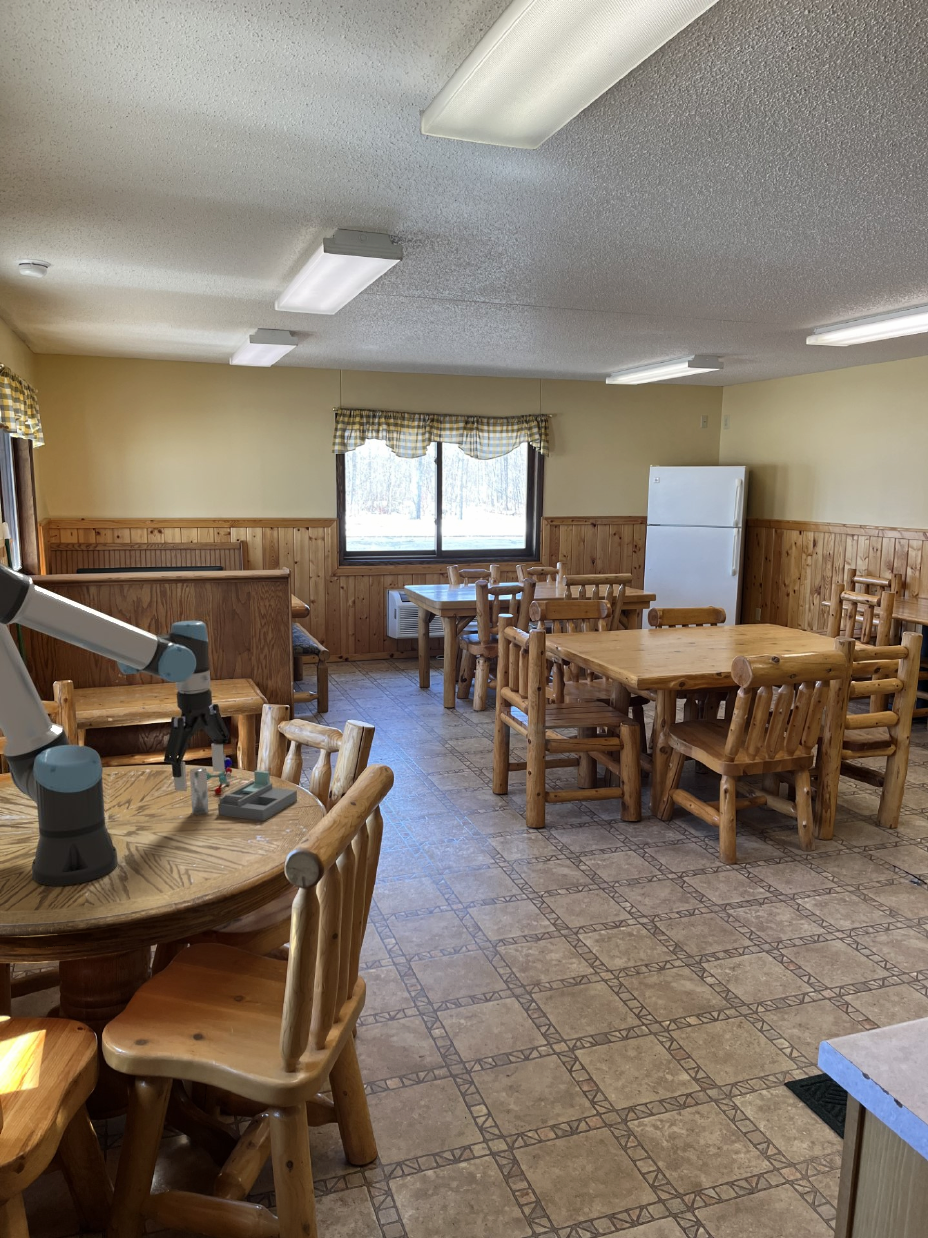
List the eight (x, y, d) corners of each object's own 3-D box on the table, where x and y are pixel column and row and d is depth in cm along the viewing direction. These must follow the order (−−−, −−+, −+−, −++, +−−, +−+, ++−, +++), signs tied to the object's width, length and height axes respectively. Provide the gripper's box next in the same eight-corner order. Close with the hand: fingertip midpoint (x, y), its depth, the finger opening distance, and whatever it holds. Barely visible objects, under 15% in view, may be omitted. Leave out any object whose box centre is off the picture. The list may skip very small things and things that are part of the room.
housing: (263, 821, 192) (262, 803, 191) (218, 814, 196) (217, 797, 196) (297, 800, 205) (296, 784, 204) (254, 795, 209) (253, 778, 209)
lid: (255, 794, 202) (254, 779, 201) (242, 792, 203) (241, 777, 202) (270, 786, 207) (269, 771, 207) (257, 784, 208) (256, 770, 208)
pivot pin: (201, 815, 196) (199, 773, 194) (188, 814, 197) (186, 771, 196) (211, 810, 199) (209, 768, 198) (198, 808, 200) (196, 767, 199)
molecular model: (180, 779, 210) (201, 742, 213) (201, 787, 219) (221, 751, 221) (216, 799, 206) (237, 761, 208) (235, 806, 214) (255, 769, 217)
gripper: (170, 704, 181) (177, 800, 184) (240, 678, 204) (246, 765, 207) (141, 701, 184) (149, 797, 187) (214, 677, 207) (220, 762, 210)
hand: (200, 780), depth 197 cm, fingers open, 13 cm apart
